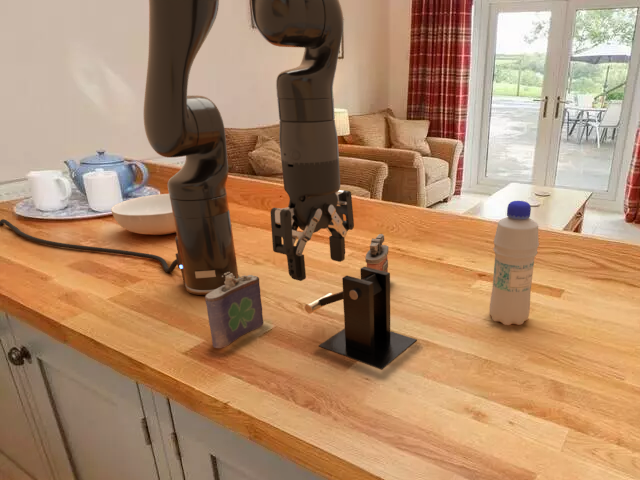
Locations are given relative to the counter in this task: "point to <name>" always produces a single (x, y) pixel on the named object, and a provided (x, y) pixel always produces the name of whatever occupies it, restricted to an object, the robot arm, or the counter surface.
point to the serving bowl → (146, 215)
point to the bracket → (368, 323)
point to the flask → (234, 309)
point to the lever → (338, 296)
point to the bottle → (514, 264)
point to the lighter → (378, 254)
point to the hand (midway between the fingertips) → (318, 269)
